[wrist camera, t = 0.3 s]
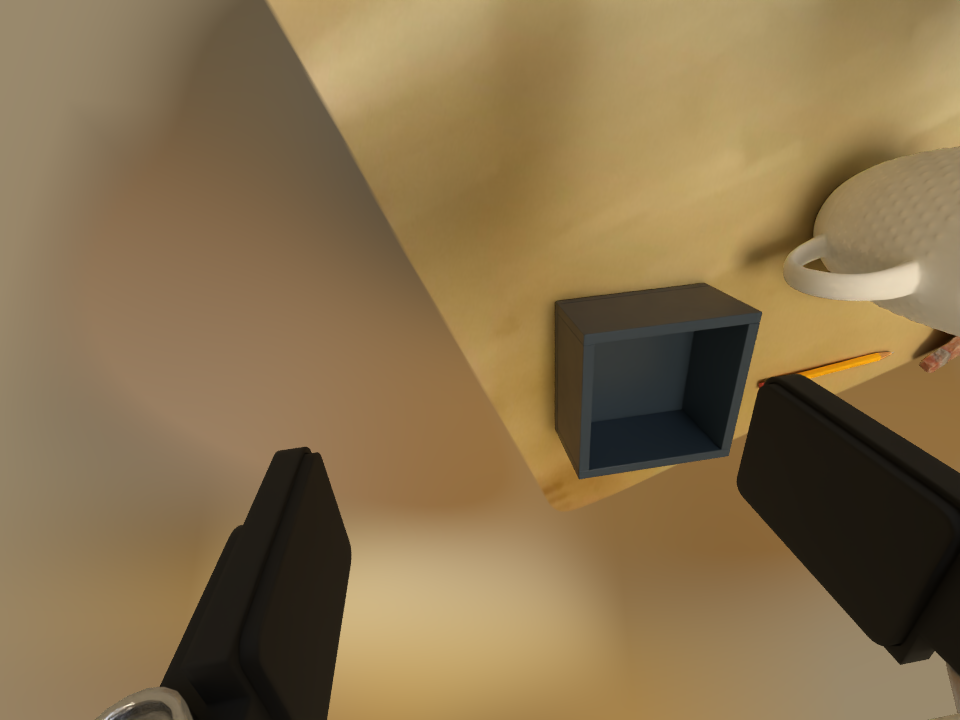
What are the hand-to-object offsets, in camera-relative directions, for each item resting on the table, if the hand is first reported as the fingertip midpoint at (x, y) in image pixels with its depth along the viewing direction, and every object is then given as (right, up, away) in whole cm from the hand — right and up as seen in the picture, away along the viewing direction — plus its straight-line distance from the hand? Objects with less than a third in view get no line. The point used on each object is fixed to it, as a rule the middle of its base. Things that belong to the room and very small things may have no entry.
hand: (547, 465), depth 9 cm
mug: (+27, +13, +26) cm, 40 cm away
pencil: (+31, +2, +33) cm, 45 cm away
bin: (+11, +2, +29) cm, 31 cm away
